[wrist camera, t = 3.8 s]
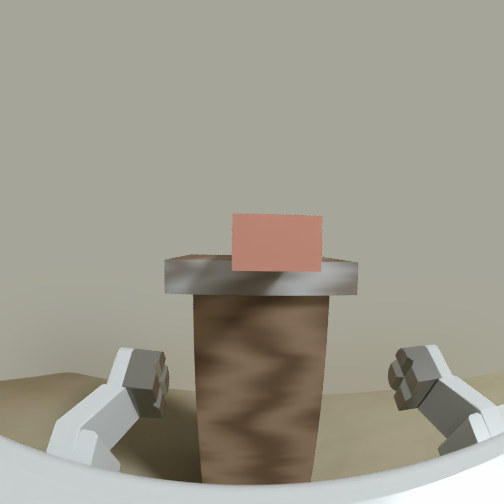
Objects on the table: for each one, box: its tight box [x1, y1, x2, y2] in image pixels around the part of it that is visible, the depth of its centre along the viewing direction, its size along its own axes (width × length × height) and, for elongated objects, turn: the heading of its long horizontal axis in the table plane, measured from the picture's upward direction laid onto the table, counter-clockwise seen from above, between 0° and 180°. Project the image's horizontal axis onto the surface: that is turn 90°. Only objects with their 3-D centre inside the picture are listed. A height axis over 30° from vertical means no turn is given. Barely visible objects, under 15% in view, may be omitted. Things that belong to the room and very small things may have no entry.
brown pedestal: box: [165, 255, 358, 485], centre depth 29 cm, size 14×13×25 cm
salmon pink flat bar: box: [232, 214, 322, 272], centre depth 25 cm, size 4×22×2 cm, turn 2°
